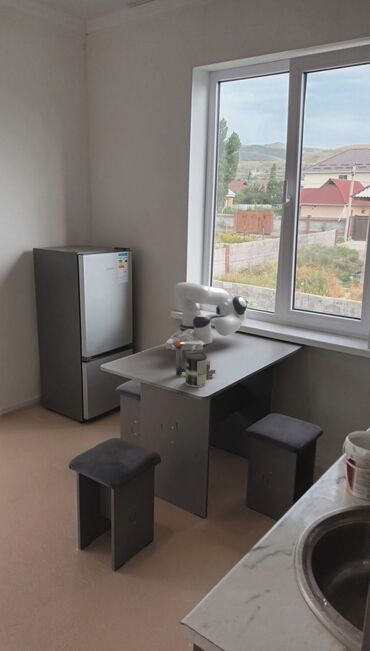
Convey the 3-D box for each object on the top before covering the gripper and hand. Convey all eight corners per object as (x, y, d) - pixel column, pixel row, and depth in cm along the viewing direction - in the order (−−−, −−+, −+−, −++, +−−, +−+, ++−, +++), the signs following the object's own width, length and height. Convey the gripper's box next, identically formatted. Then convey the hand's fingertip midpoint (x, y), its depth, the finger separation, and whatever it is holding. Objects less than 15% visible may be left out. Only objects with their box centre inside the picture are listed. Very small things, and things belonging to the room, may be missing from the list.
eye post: (197, 378, 249) (197, 365, 247) (199, 373, 257) (199, 360, 255) (211, 378, 248) (211, 365, 246) (212, 373, 256) (213, 360, 254)
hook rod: (171, 375, 251) (171, 343, 247) (173, 371, 258) (173, 340, 253) (214, 377, 248) (215, 345, 244) (215, 373, 255) (216, 342, 251)
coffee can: (186, 387, 237) (186, 359, 233) (184, 379, 247) (184, 352, 243) (207, 386, 238) (208, 358, 234) (205, 379, 248) (205, 352, 244)
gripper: (204, 347, 276) (202, 355, 263) (168, 346, 279) (164, 354, 266) (204, 337, 275) (202, 344, 261) (168, 335, 277) (163, 342, 264)
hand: (182, 349), depth 263 cm, fingers open, 8 cm apart
